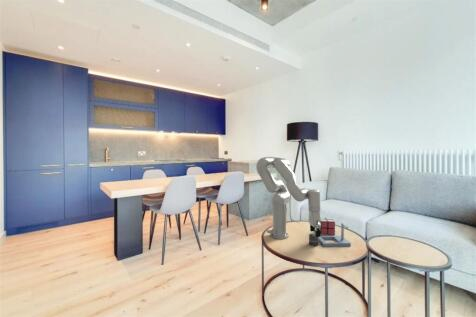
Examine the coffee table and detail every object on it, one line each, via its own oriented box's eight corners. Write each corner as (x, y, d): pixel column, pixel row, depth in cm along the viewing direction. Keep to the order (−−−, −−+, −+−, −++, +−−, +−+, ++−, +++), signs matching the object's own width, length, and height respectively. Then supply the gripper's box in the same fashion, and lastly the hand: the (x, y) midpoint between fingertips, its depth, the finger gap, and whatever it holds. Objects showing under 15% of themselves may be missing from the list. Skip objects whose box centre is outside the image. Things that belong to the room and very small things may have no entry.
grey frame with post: (324, 247, 143) (324, 227, 143) (316, 238, 156) (316, 220, 155) (351, 246, 144) (351, 226, 143) (341, 238, 156) (341, 220, 156)
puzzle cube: (334, 235, 163) (335, 221, 162) (320, 234, 164) (320, 221, 164) (331, 230, 172) (331, 217, 172) (318, 229, 174) (318, 217, 174)
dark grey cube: (310, 246, 145) (310, 237, 145) (307, 242, 151) (307, 233, 151) (320, 246, 145) (320, 237, 145) (316, 242, 151) (316, 233, 151)
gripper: (304, 205, 155) (305, 229, 156) (313, 212, 138) (314, 239, 138) (315, 205, 155) (316, 228, 156) (325, 211, 138) (326, 238, 138)
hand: (315, 233), depth 147 cm, fingers open, 9 cm apart
